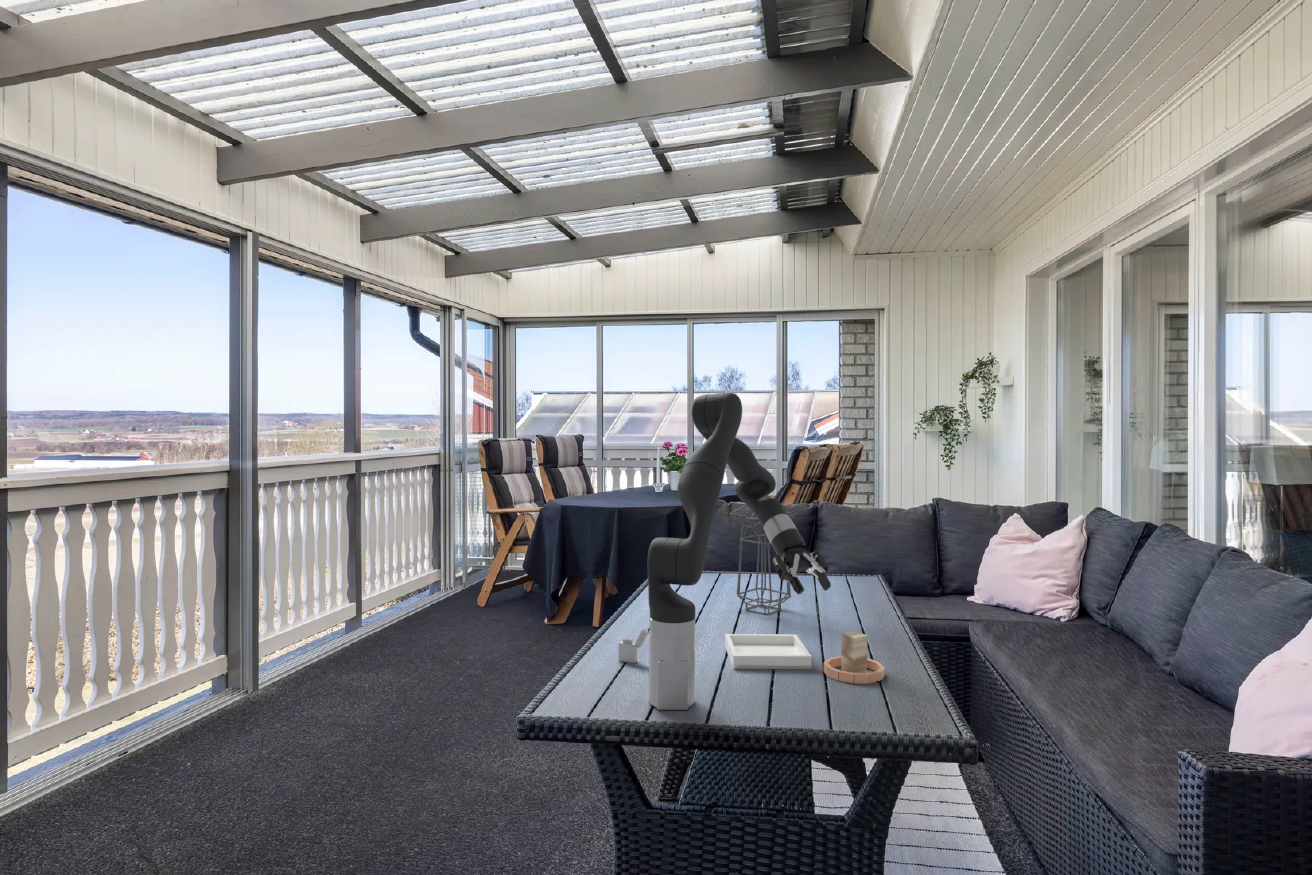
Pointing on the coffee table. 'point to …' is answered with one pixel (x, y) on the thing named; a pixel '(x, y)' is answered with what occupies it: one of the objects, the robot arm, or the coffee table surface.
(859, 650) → the birch block
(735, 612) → the coffee table surface
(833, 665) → the orange ring
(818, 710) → the coffee table surface
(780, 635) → the tray
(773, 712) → the coffee table surface
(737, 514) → the geometric lantern
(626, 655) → the lighter
